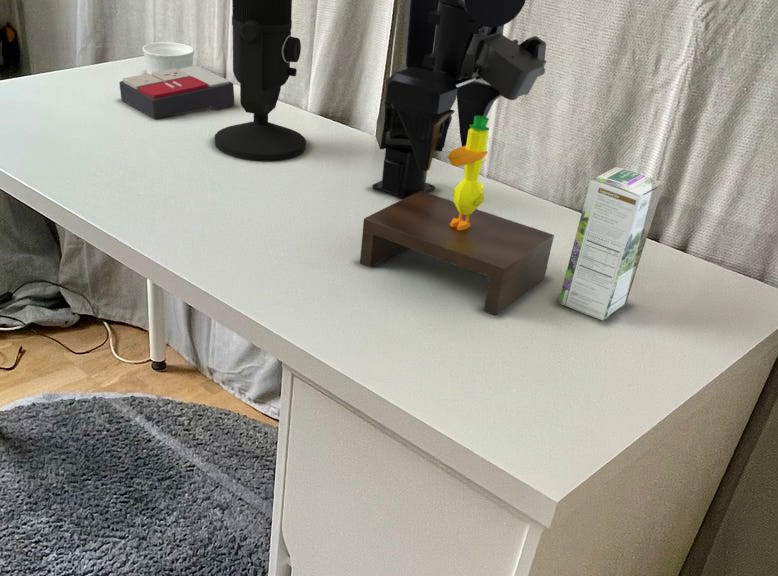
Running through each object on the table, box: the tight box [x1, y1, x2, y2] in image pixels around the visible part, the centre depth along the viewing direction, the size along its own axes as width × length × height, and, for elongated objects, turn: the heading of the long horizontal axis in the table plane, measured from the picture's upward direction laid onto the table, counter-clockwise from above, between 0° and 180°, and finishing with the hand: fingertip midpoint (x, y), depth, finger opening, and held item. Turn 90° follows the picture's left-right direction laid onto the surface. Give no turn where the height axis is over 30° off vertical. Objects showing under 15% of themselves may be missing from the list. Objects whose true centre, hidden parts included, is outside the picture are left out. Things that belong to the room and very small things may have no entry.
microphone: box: [214, 0, 307, 162], centre depth 125 cm, size 14×14×25 cm
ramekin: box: [142, 41, 195, 75], centre depth 157 cm, size 9×9×4 cm
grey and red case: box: [118, 65, 235, 120], centre depth 144 cm, size 11×4×15 cm
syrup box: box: [558, 166, 664, 321], centre depth 95 cm, size 6×6×14 cm
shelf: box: [359, 191, 555, 316], centre depth 102 cm, size 12×18×6 cm, turn 54°
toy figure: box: [447, 116, 490, 230], centre depth 97 cm, size 7×4×12 cm, turn 135°
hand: (445, 159), depth 97 cm, fingers open, 9 cm apart
